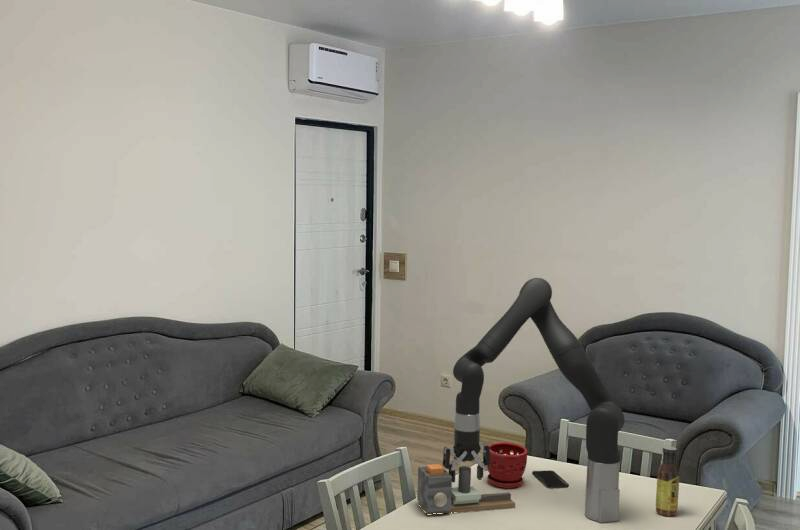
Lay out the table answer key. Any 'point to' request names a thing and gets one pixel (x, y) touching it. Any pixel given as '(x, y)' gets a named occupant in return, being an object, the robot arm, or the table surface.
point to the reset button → (434, 469)
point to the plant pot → (506, 464)
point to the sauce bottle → (667, 483)
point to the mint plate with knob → (465, 488)
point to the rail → (438, 497)
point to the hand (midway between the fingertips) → (466, 480)
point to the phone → (550, 479)
